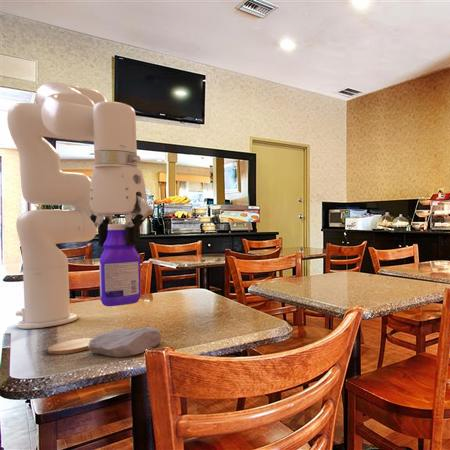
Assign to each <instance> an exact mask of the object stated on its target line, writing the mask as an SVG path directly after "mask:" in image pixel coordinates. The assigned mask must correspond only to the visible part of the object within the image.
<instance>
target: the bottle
mask: <svg viewBox="0 0 450 450" xmlns="http://www.w3.org/2000/svg"><path fill="white" fill-rule="evenodd" d="M126 227H129V226H128V224H127V223H111V224H108V235H107V239H106V241H105V243H104V244H103V246H102V247H104V248H103V249H104V250H103V251H102V253H101V255H100V258H99V263H98V265H99V296H100V300H99V301H100V302H101V304H102V305H103V306H105V307H119V306H125V305H133V304H137V303H138V302H139V300H140V299H141V291H142V289H141V257H140V255H139V253H138V251H137V250H136V247H135V246H136V245H134V246H127V245H126V236H125V228H126Z"/></svg>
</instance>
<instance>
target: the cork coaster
mask: <svg viewBox="0 0 450 450" xmlns="http://www.w3.org/2000/svg"><path fill="white" fill-rule="evenodd" d="M93 338H94V337H84V338H83V337H82V338H75V339H70V340H65V341H61V342H58V343H55V344H52V345H50V346H49V347H48V348H47V353H48V354H50V355H67V354H73V353H79V352H84V351H87V350H89V349H88V345H89V342H90V340H92V339H93Z"/></svg>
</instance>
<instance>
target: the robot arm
mask: <svg viewBox="0 0 450 450" xmlns="http://www.w3.org/2000/svg"><path fill="white" fill-rule="evenodd" d="M35 99H36V101H37V103H36V102H35V103H34V102H17V103H13V104H12V105H10V107H9V109H8V111H7V118H6V121H7V128H8V131H9V134H10V136H11V139H12V141H13V144H14V145H15V147H16V149H17V153H18V158H19V173H20V174H19V175H20V186H21V193H22V197H23V199H24V200H25V202H27V203H28V204H33V205H41V206H71V207H72V209H33V210H28V211H24V212H22V213H21V214H20V215H19V216H18V217H17V218H16V232H17V236H18V240H19V244H20V250H21V259H22V279H23V303H24V304H23V305H24V307H23V308H21V309H20V310H18V311H16V312H15V316H17V317H22V320H19V321H18V322H17V328H19V329H22V330H23V329H24V330H27V329H28V330H29V329H30V330H31V329H43V328H49V327H55V326H61V325H65V324H68V323H73V322H75V321H76V320H77V319H78V315H77V314H76V313H71V303H70V279H69V259H68V256H67V255H66V253H64V251H62V250H61V249H60V248H59V247H58V246H57V245H58V244H69V243H84V242H85V243H86V242H89V241H92V240H93V239H94V238H95V237H96V235H97V240H98V241H97V242H98V244H97V245H98V247H104V246H103V244H104V243H105V241H106V239H107V235H108V224H112V220H113V217H114V215H123V216H124V219H125V221H126V224H128V226H129V227H126V228H125V236H126V245H127V246H134V245H135V246H140V244H141V237H140V236H141V235H140V234H141V233H140V229H141V228H140V227H143V223H144V222H145V220H147V217H149V215H150V214H152V212H153V208H152V207H151V206H150V205H149V204H148V200H147V189H146V184H145V183H146V182H145V178H144V175H143V171H142V169H141V168H140V167H138V162H140V161H141V157H140V155H138V147H137V145H138V144H137V121H136V120H137V118H136V116H137V115H136V110H135V109H134V108H133V107H132V106H131V105H129V104H127V103H124V102H118V101H111V100H110V101H108V100H107V98H106V97H105V95H104V94H103V93H101V92H100V91H98V90H95V89H92V88H87V87H82V86H77V85H73V84H68V83H64V82H58V81H57V82H54V81H52V82H50V81H49V82H45V83H43V84H41V85H40V86H39V87H38V88H37V90H36V92H35ZM46 138H52V139H60V140H70V141H78V142H79V141H80V142H83V141H87V142H93V152H94V153H93V154H94V167H93V168H92V173H91V177H89V176H88V175H86V174H85V173H81V172H69V171H63V170H62V168H61V156H60V154H59V152H58V151H57V150H56V149H57V148H55V147H54V146H53V145H52V144H51V143H50V142H49V141H48V140H47V139H46Z"/></svg>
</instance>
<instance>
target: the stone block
mask: <svg viewBox="0 0 450 450" xmlns="http://www.w3.org/2000/svg"><path fill="white" fill-rule="evenodd" d="M92 338H93V339H92V340H90V342H89V345H88V349H87V350H89V351H90V352H91V353H93V354H99V355H103V356H106V357H114V358H124V357H125V358H127V357H133V356H135V355H139V354H143V353H145V352H144V351H145V350H146V349H148V348H151V349H154V348H155V347H157V346H159V345H160V344H161V341H162V334H161V332H160V330H159V328H157V327H155V326H145V327H140V328H136V329H128V328H126V327H120V328H117V329H113V330H112V331H105V332H103V333H100V334H97V335H96V336H94V337H92ZM153 347H154V348H153Z"/></svg>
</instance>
